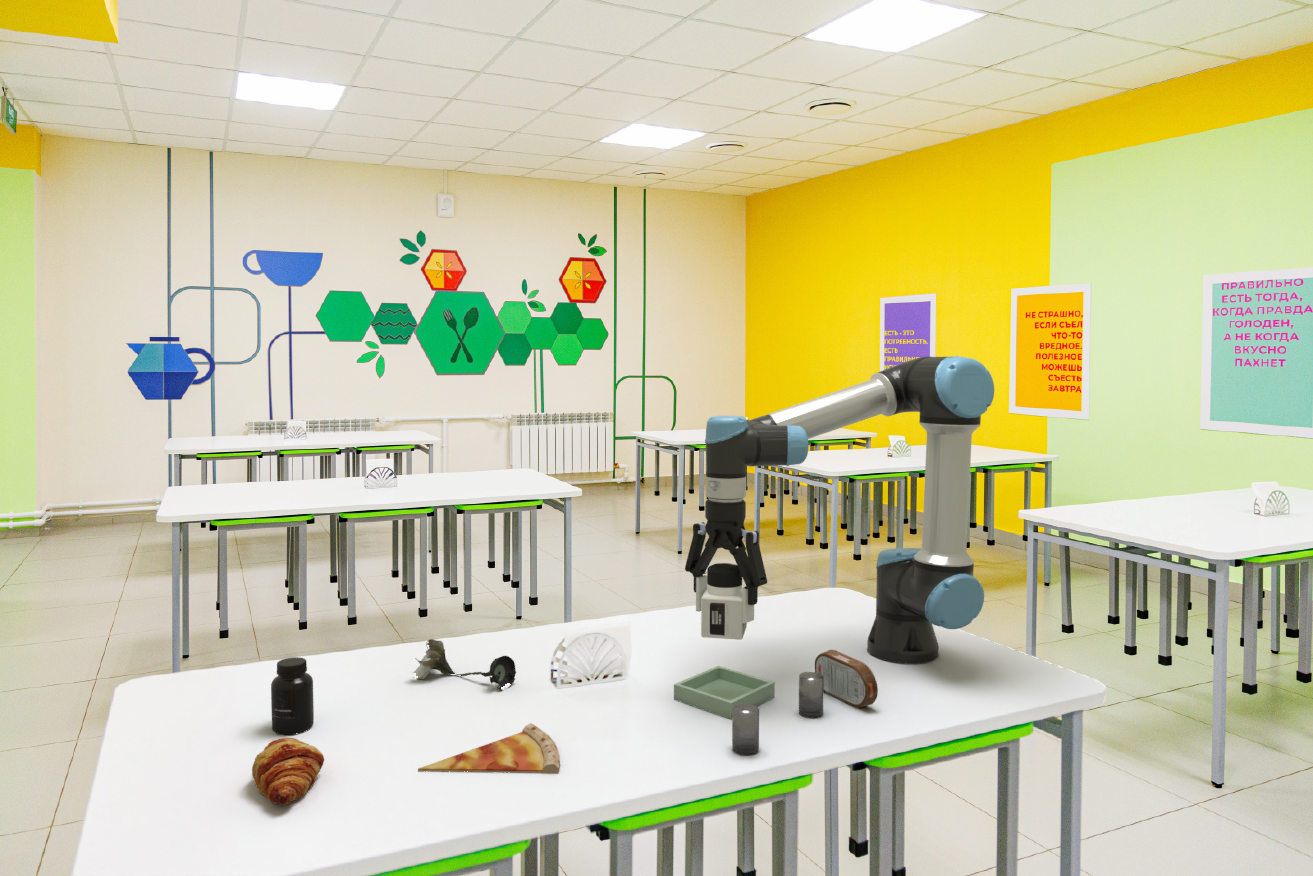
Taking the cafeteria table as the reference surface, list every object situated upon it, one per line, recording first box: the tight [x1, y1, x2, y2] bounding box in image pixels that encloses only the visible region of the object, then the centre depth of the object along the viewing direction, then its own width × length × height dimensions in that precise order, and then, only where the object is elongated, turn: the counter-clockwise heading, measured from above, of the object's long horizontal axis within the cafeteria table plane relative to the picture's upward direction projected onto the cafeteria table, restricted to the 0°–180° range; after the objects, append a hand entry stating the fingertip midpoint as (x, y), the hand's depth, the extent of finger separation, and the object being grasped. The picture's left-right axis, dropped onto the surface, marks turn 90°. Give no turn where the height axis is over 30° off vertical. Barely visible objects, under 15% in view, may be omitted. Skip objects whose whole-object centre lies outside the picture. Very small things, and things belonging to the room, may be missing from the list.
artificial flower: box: [412, 638, 517, 690], centre depth 177 cm, size 9×22×10 cm, turn 61°
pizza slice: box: [417, 722, 561, 774], centre depth 146 cm, size 16×22×2 cm
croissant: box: [251, 737, 325, 806], centre depth 135 cm, size 21×10×8 cm, turn 22°
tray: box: [673, 665, 775, 720], centre depth 167 cm, size 14×14×3 cm
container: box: [700, 562, 748, 640], centre depth 166 cm, size 8×8×13 cm
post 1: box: [731, 704, 760, 757], centre depth 145 cm, size 4×4×7 cm
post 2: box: [798, 671, 825, 720], centre depth 160 cm, size 4×4×7 cm
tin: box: [814, 649, 879, 709], centre depth 167 cm, size 15×3×8 cm, turn 31°
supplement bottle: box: [270, 656, 315, 736], centre depth 154 cm, size 7×7×12 cm
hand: (724, 615), depth 166 cm, fingers closed on container, 10 cm apart
